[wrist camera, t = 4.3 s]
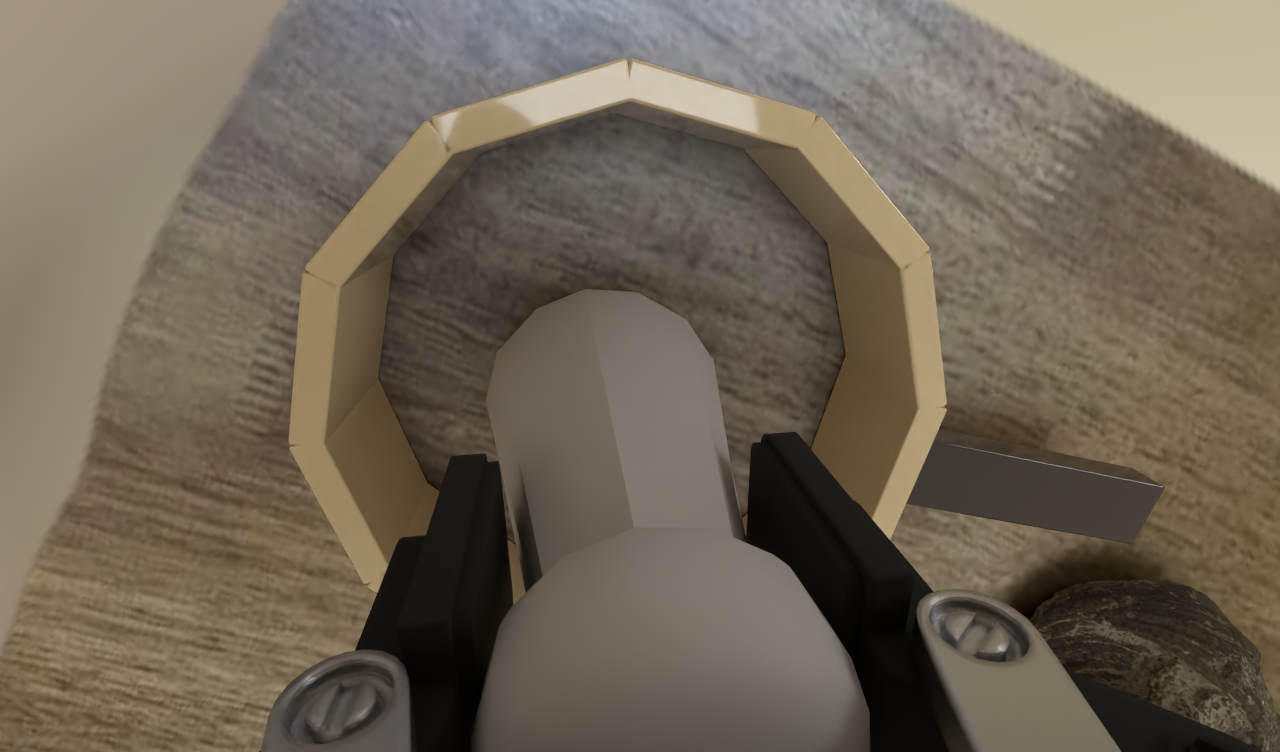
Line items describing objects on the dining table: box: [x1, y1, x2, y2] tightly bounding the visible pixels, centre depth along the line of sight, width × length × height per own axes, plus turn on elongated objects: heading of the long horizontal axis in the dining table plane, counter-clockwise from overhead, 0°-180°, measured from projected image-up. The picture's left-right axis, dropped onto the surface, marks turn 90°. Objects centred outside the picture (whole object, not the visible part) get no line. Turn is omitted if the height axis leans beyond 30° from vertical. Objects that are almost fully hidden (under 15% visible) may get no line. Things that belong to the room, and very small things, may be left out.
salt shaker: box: [471, 289, 870, 752], centre depth 12 cm, size 6×6×13 cm
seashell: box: [1029, 578, 1280, 752], centre depth 21 cm, size 11×12×10 cm
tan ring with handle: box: [288, 58, 1165, 605], centre depth 18 cm, size 22×16×4 cm
